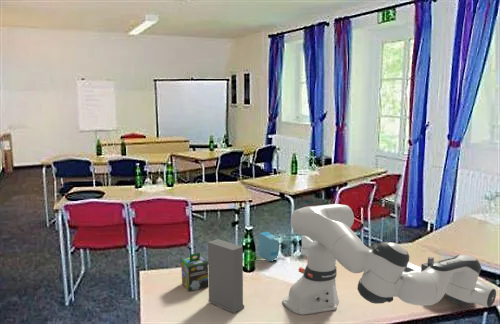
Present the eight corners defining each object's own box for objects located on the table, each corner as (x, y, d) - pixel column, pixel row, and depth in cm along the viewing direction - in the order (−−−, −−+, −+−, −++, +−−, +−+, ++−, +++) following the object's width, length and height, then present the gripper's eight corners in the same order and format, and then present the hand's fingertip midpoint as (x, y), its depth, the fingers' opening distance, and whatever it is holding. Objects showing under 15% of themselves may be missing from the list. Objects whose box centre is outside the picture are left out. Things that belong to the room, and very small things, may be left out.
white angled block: (295, 246, 243) (303, 233, 240) (310, 258, 240) (319, 245, 237) (292, 248, 240) (300, 235, 237) (308, 260, 237) (316, 247, 234)
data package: (278, 261, 230) (278, 237, 228) (270, 262, 228) (270, 239, 226) (266, 253, 240) (266, 230, 238) (258, 254, 238) (258, 232, 236)
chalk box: (200, 279, 208) (200, 247, 206) (209, 287, 200) (208, 254, 198) (181, 283, 204) (180, 251, 201) (188, 291, 196) (188, 258, 193)
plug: (429, 290, 196) (431, 261, 194) (420, 286, 201) (421, 257, 199) (437, 288, 199) (439, 258, 197) (428, 283, 203) (430, 255, 201)
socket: (404, 285, 201) (405, 279, 201) (378, 272, 215) (378, 266, 215) (430, 278, 209) (431, 272, 208) (403, 266, 223) (404, 260, 222)
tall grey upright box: (244, 308, 182) (244, 246, 177) (233, 313, 177) (233, 250, 173) (219, 297, 191) (218, 238, 187) (208, 302, 186) (207, 242, 182)
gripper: (437, 295, 183) (410, 282, 195) (472, 285, 193) (444, 273, 205) (438, 280, 182) (411, 268, 194) (473, 270, 192) (445, 259, 204)
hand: (428, 270), depth 199 cm, fingers closed on plug, 5 cm apart
